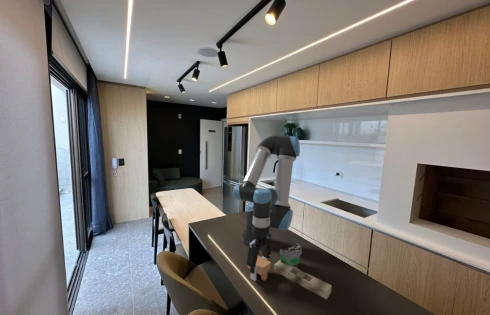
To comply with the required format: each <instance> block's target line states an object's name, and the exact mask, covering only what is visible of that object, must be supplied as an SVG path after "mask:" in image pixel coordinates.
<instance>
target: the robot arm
mask: <svg viewBox="0 0 490 315" xmlns="http://www.w3.org/2000/svg"><path fill="white" fill-rule="evenodd" d="M300 146H301V145H300V140H299V137H297V136H294V135H293V136H292V135H270V136H268V137H266V138H265V139H263V140H262V141H261V142H260V143H259V144H258V145H257V147H256V149H255V155H254V158H253V159H252V161H251V163H250V166H249V168H248V170H247V171H246V174H245V176H244V178H243V180H242V182H241V184H235V186H234V187H233V190H232V197H233V199H234V200H237V201H239V202H246V203H247V204H246V207H245V226H244V229H243V233H242V235H241V241H242V243H243V244H244V245H247V246H248V250H247V260H246V265H248V266H250V268H249V273H250V275H249V277H250V280H252V281H254V282H256V281H257V274H258V273H257V266H256V262H257V258H258V256H259V253H260V251H261V252H262V256H261V257H262V258H264V259H266V260H268V259H270V258H271V254H272V240H271V239H272V234H271V233H270V228H271V229H274V230H275V229H276V230H277V231H287V230H289V229H290V226H291V225H292V224H291V223H292V220H293V216H294V211H293V210H292V209H291V205H290V203H289V198H290V190H291V183H292V176H293V175H292V174H293V165H294V162H295V161H296V160H297V158H298V157H299V156H300V154H301V149H300ZM272 155H276V159H277V160H278V161H277V169H276V177H275V184H274V187H268V188H261V187H257V185H258V184H259V183H258V182H259V180H260V178H261V175H262V173H263V170H264V169H265V167H266V164H267V162H268V159H270V158H271V156H272ZM268 261H269V260H268Z"/></svg>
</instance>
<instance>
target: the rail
mask: <svg viewBox="0 0 490 315" xmlns="http://www.w3.org/2000/svg"><path fill="white" fill-rule="evenodd" d="M273 271H274V272H276V273H277V274H279V275H282V276H283V277H284V276H285V278H286V279H288V280H289V281H291V282H294V283H295V284H296V285H297V284H298V285H299V286H300V287H303V288H304V289H306V290H308V291H310V292H312V293H313V294H315V295H318V296H320V297H322V299H323V298H324V300H328V298H329V296H330V295H331V293H332V287H333V286H332V285H333V284H332V285H331V284H330V283H327V282H325V281H323V280H321V278H317V277H315V276H313V275H312V274H310V273H307V272H305V271H303V270H301V269H299V268H298V269H297V268H295V267H293V266H291V265H287V264H284V263H282V262H281V259H279V260H278V261H276V263H274V264H273Z"/></svg>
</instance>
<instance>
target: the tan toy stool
mask: <svg viewBox="0 0 490 315" xmlns="http://www.w3.org/2000/svg"><path fill="white" fill-rule="evenodd" d="M246 265H247V264H246ZM256 266H257V274H258V275H259V276H260V278H261V280H262V281H263V282H264V281H266V280H267V279H268V272H269V271H270V270H271V268H272V262H271V261H269V260H266V259H264V258H262V256H260V255H258V258H257V262H256ZM247 268H248V269H250V266H248V265H247Z"/></svg>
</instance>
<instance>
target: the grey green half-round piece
mask: <svg viewBox="0 0 490 315" xmlns="http://www.w3.org/2000/svg"><path fill="white" fill-rule="evenodd" d="M302 254H303V249H302V245H300V244H299V243H298V242H296V244H295V245H291V246H288V247H286V248H284V249H281V248H280V250H279V255H280V260H281V262H282V263H284V264H287V265H291V266H293V267H295V268H297V269H299V264H300V258H301V255H302Z"/></svg>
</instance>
